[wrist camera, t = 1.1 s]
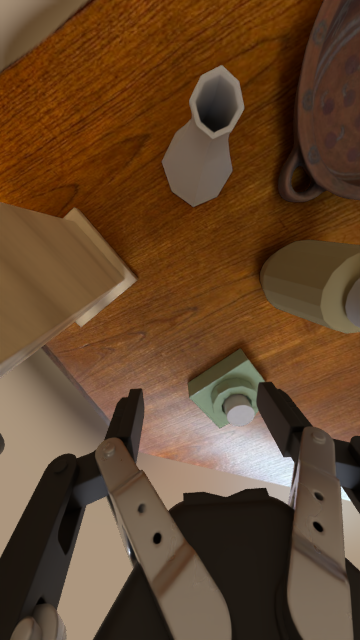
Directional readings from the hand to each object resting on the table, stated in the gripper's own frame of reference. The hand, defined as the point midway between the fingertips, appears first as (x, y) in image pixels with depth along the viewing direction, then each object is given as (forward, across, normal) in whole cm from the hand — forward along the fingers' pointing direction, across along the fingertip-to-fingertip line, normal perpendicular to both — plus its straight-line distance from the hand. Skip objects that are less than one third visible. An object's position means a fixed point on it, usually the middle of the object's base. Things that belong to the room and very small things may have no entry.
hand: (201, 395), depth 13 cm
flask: (+15, +2, +18) cm, 23 cm away
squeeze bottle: (+15, +13, +6) cm, 20 cm away
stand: (+15, -13, +7) cm, 21 cm away
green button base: (+15, +6, -11) cm, 20 cm away
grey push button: (+10, +6, -11) cm, 16 cm away
